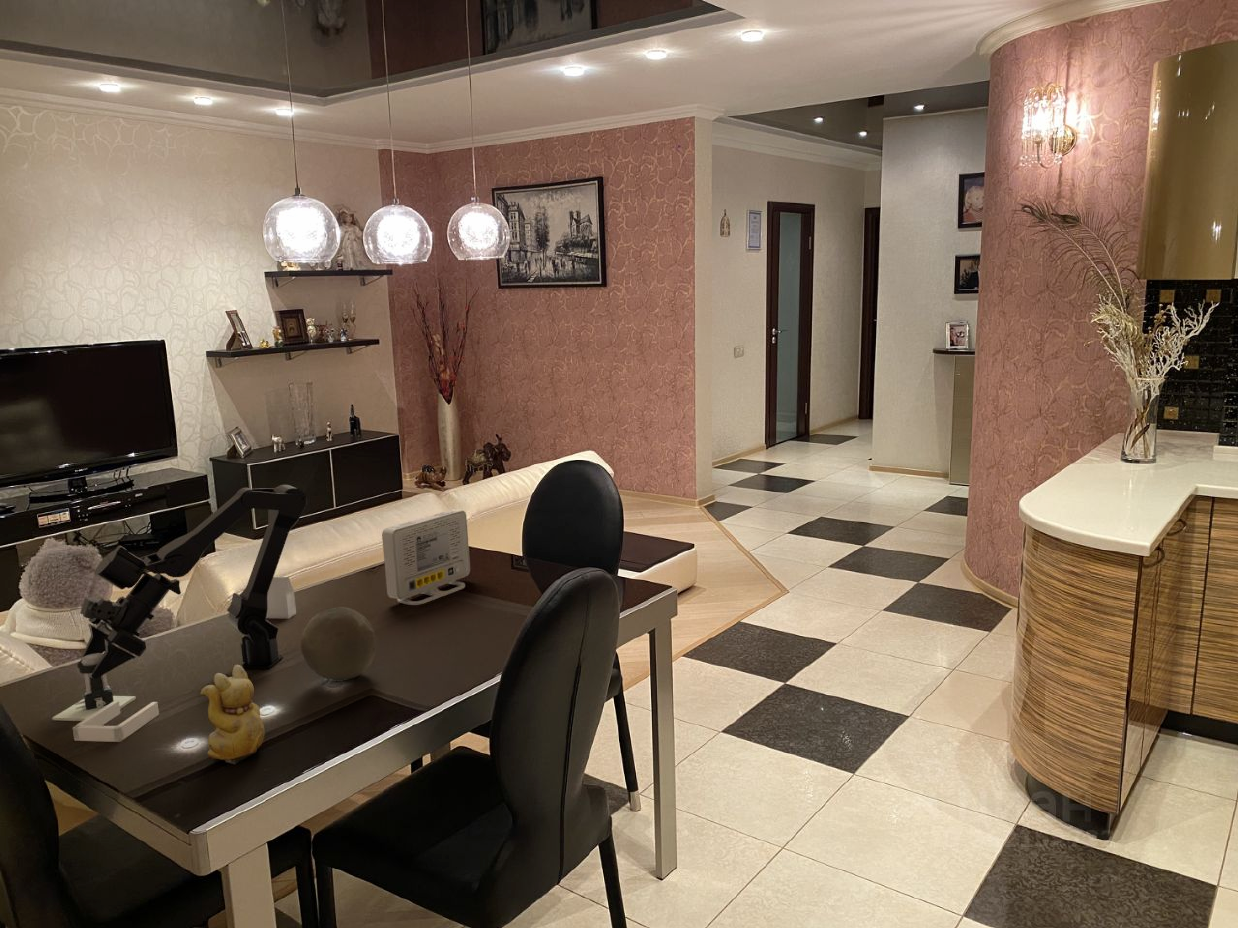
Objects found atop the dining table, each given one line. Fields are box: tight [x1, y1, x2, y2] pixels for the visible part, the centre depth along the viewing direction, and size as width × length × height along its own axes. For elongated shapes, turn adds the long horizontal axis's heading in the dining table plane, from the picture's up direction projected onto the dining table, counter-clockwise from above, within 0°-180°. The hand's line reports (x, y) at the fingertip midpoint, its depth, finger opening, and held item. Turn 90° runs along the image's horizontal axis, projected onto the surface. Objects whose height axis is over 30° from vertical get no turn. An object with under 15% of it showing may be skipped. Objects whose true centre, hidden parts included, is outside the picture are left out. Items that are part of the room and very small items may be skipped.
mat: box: [52, 695, 137, 722], centre depth 177 cm, size 10×10×1 cm
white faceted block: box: [266, 576, 297, 619], centre depth 227 cm, size 4×7×10 cm, turn 81°
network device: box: [381, 508, 471, 606], centre depth 239 cm, size 26×9×20 cm, turn 144°
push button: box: [74, 653, 114, 710], centre depth 177 cm, size 7×5×10 cm
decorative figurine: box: [200, 664, 266, 765], centre depth 155 cm, size 10×8×15 cm
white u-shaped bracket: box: [72, 701, 160, 743], centre depth 169 cm, size 9×11×2 cm
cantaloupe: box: [300, 606, 377, 682], centre depth 185 cm, size 14×14×15 cm
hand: (87, 671), depth 176 cm, fingers open, 9 cm apart
